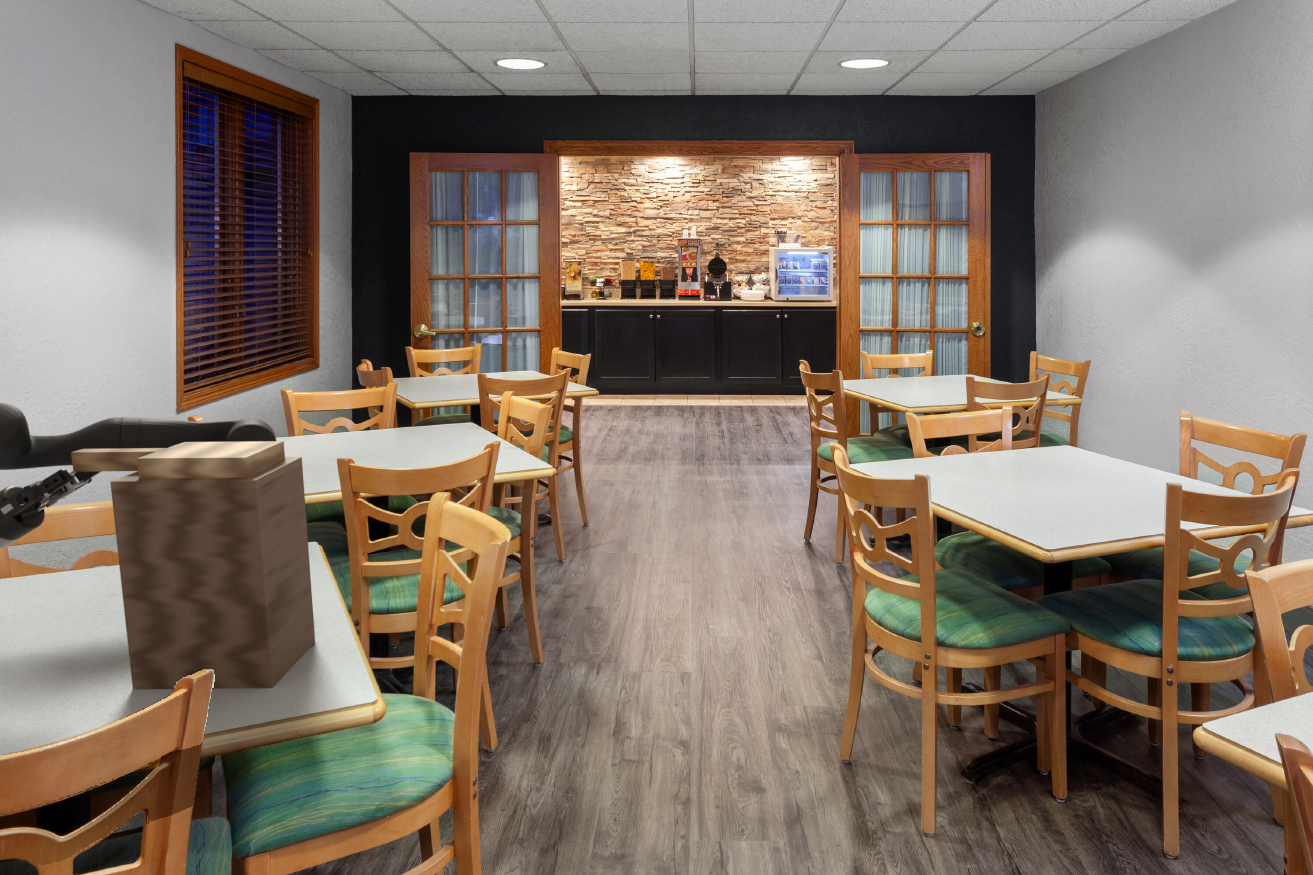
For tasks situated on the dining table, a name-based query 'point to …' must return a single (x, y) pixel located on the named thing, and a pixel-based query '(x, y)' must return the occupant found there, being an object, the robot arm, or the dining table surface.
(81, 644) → the dining table surface
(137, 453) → the bread board
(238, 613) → the cabinet
